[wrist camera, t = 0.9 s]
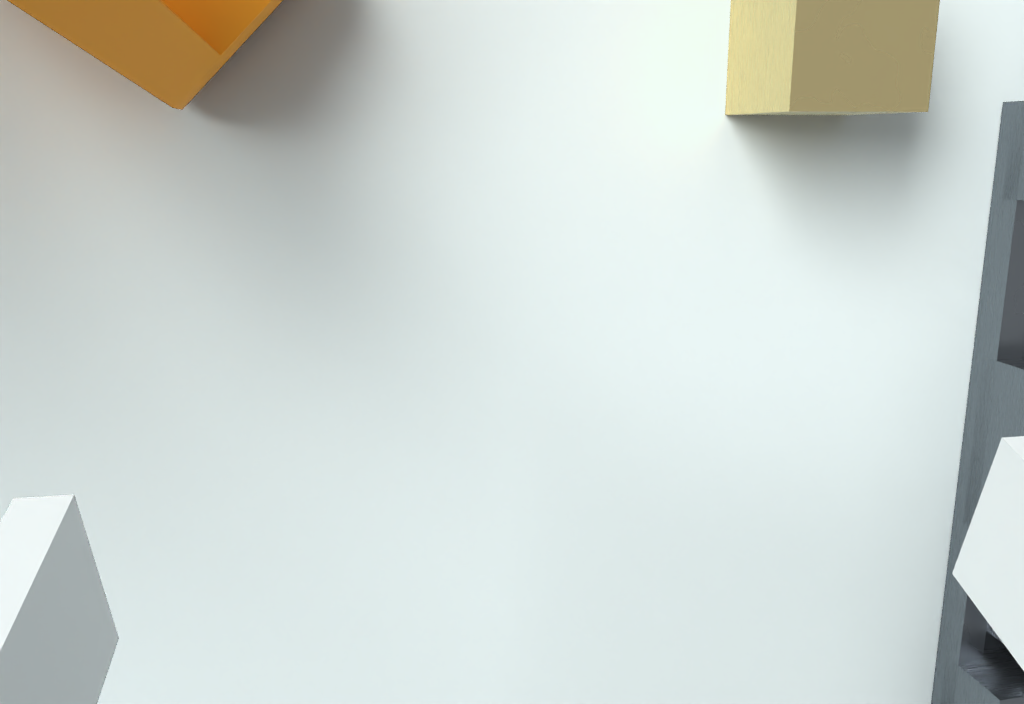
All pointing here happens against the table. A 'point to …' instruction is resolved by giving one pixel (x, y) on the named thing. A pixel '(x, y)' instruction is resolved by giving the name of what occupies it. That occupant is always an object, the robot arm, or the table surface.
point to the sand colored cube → (830, 56)
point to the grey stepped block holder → (988, 432)
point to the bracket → (156, 37)
